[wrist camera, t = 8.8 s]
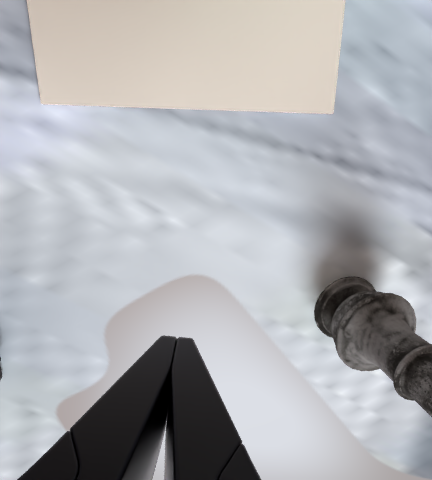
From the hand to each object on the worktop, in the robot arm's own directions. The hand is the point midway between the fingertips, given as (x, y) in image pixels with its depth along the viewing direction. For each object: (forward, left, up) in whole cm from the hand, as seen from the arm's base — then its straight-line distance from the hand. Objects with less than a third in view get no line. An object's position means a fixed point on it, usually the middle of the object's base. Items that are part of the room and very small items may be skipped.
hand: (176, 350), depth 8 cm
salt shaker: (+13, -6, -12) cm, 19 cm away
